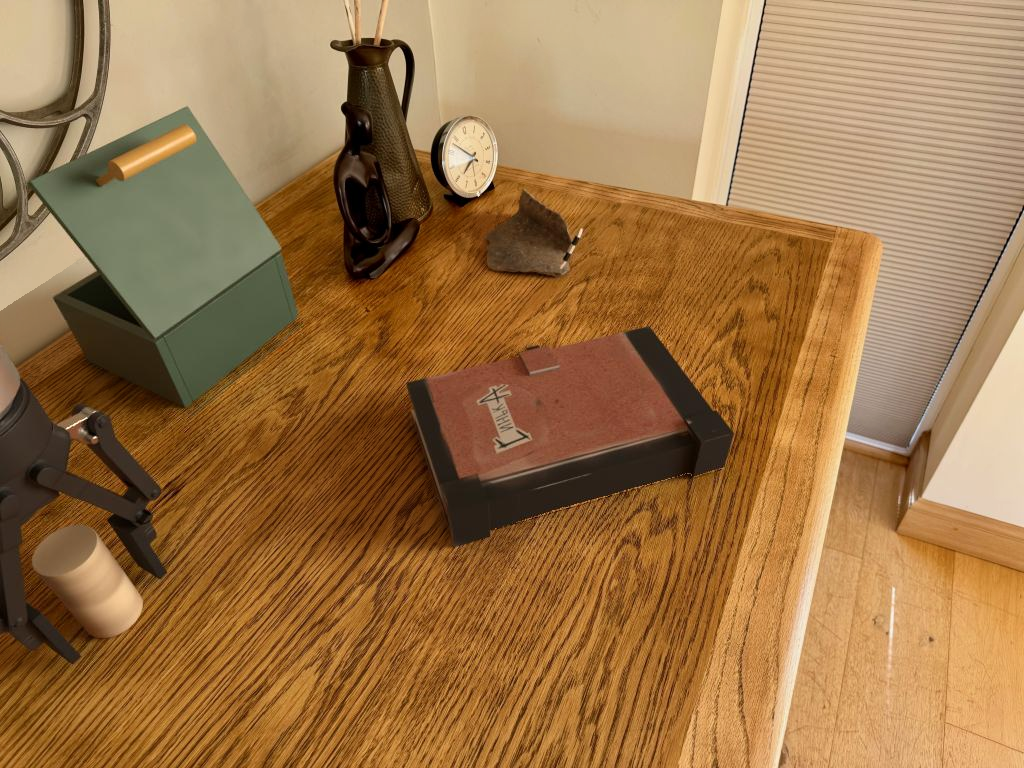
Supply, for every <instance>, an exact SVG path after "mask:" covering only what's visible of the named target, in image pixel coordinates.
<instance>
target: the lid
mask: <svg viewBox="0 0 1024 768" xmlns="http://www.w3.org/2000/svg"><path fill="white" fill-rule="evenodd" d="M27 185H28V186H29V188H30V189H31V190H32V192H34V194H35V196H37V198H38V199H39V200H40V201H41V203H42V204H43V205H44V206H45V208H46V209H47V211H49V213H50V214H51V215H52V217H53V218H54V219H55V220H56V222H57V223H58V224H59V225H60V227H61V228H62V230H64V232H65V233H66V234H67V236H68V237H69V238H70V239H71V241H72V242H73V243H74V244H75V245H76V247H77V248H78V249H79V250H80V251H81V253H82V254H83V255H84V257H85V258H86V260H87V261H88V262H89V263H90V265H92V267H93V268H94V269H95V271H97V272H98V273H99V274H100V275H101V277H102V278H103V279H104V280H105V282H106V283H107V284H108V285H109V287H110V288H111V289H112V290H113V292H114V293H115V294H116V295H117V297H118V298H119V299H120V300H121V302H122V303H123V304H124V305H125V307H126V308H127V309H128V310H129V312H130V313H131V314H132V315H133V317H134V318H135V319H136V320H137V322H138V323H139V324H140V325H141V327H142V328H143V329H144V330H145V332H146V333H147V334H148V335H149V337H150V338H151V339H156V338H157V337H158V336H160V335H161V334H163V333H164V332H165V331H167V330H168V329H170V328H171V327H173V326H174V325H175V324H177V323H178V322H180V321H181V320H182V319H184V318H185V317H187V316H188V315H189V314H191V313H192V312H194V311H195V310H197V309H198V308H199V307H201V306H202V305H204V304H205V303H206V302H208V301H209V300H211V299H212V298H213V297H215V296H216V295H218V294H219V293H220V292H222V291H223V290H225V289H226V288H228V287H229V286H230V285H232V284H233V283H235V282H236V281H237V280H239V279H240V278H242V277H243V276H244V275H246V274H247V273H249V272H250V271H252V270H253V269H254V268H256V267H257V266H259V265H260V264H261V263H263V262H264V261H266V260H267V259H268V258H270V257H271V256H273V255H274V254H275V253H277V252H280V251H281V250H282V249H283V248H282V246H281V245H280V243H279V242H278V240H277V238H276V237H275V235H274V234H273V232H272V231H271V229H270V228H269V226H268V225H267V223H266V222H265V221H264V219H263V217H262V216H261V215H260V213H259V211H258V210H257V208H256V207H255V205H254V204H253V202H252V201H251V198H249V196H248V194H247V193H246V191H244V189H243V187H242V186H241V185H240V183H239V181H238V180H237V178H236V177H235V175H234V173H233V172H232V171H231V169H230V167H229V166H228V164H227V163H226V162H225V160H224V159H223V157H222V155H221V154H220V152H219V151H218V149H217V148H216V147H215V145H214V144H213V141H211V139H210V137H209V135H208V134H207V133H206V132H205V130H204V128H203V127H202V126H201V124H200V123H199V121H198V119H197V118H196V116H195V115H194V114H193V112H192V111H191V109H190V107H189V106H185V107H182V108H180V109H178V110H176V111H174V112H172V113H170V114H168V115H166V116H163V117H161V118H159V119H157V120H155V121H152V122H150V123H148V124H146V125H145V126H142V127H140V128H137V129H135V130H134V131H132V132H130V133H128V134H126V135H123V136H122V137H119V138H117V139H115V140H113V141H110V142H109V143H106V144H104V145H102V146H100V147H98V148H96V149H94V150H91V151H89V152H88V153H86V154H83V155H81V156H79V157H77V158H74V159H72V160H71V161H69V162H66V163H64V164H62V165H60V166H58V167H56V168H54V169H52V170H49V171H46V172H45V173H43V174H41V175H39V176H37V177H35V178H33V179H31V180H29V181H28V182H27Z"/></svg>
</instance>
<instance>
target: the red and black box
mask: <svg viewBox="0 0 1024 768" xmlns="http://www.w3.org/2000/svg"><path fill="white" fill-rule="evenodd" d="M405 384H406V389H407V392H408V395H409V398H410V401H411V404H412V407H413V408H412V409H410V415H411V419H412V421H413V424H414V427H415V430H416V433H417V437H418V439H419V443H420V447H421V449H422V453H423V455H424V458H425V462H426V464H427V467H428V471H429V474H430V477H431V480H432V484H433V486H434V489H435V492H436V495H437V498H438V502H439V505H440V507H441V511H442V514H443V517H444V520H445V523H446V526H447V529H448V532H449V536H450V539H451V542H452V545H453V548H456V547H460V546H463V545H467V544H470V543H473V542H472V541H474V542H477V541H480V539H481V540H483V538H484V539H486V538H485V537H488V538H490V537H491V531H490V530H493V529H495V528H500V527H503V526H507V525H509V524H512V523H516V522H518V521H522V520H525V519H527V518H531V517H534V516H538V515H540V514H541V515H542V514H544V513H546V512H550V511H552V510H556V509H560V508H562V507H568V506H570V505H574V504H577V503H581V502H585V501H588V500H592V499H596V498H599V497H603V496H608V495H611V494H614V493H618V492H621V491H624V490H628V489H631V488H634V487H639V486H642V485H647V484H650V483H654V482H657V481H661V480H665V479H668V478H672V477H677V476H680V475H682V474H683V475H684V474H685V473H686V474H687V473H691V474H692V476H693V477H694V476H697V475H700V474H703V473H706V472H708V471H709V472H710V471H712V470H715V469H719V468H723V467H724V468H726V463H727V460H728V456H729V452H730V449H731V446H732V442H733V439H734V435H735V433H734V431H733V430H732V429H731V427H730V426H729V425H728V423H727V422H726V421H725V419H724V418H723V417H722V415H721V414H720V412H719V411H718V410H717V409H715V410H713V408H712V407H711V406H710V404H709V403H708V402H707V400H706V398H705V397H704V396H703V395H702V393H701V392H700V391H699V390H698V389H697V387H696V385H695V384H694V383H693V382H692V380H691V379H690V378H689V376H688V375H687V373H685V371H684V370H683V369H682V367H681V366H680V365H679V363H678V362H677V360H676V359H675V358H674V356H673V355H672V354H671V352H670V351H669V350H668V349H667V347H666V346H665V345H664V343H663V342H662V341H661V339H660V338H659V336H658V335H657V334H656V332H655V331H654V330H653V329H652V327H651V326H650V325H648V326H643V327H640V328H635V329H631V330H626V331H623V332H618V333H613V334H609V335H605V336H601V337H597V338H592V339H587V340H583V341H579V342H575V343H571V344H568V345H562V346H559V347H558V346H557V347H554V348H551V347H550V346H549V345H547V346H542V347H541V346H540V345H539V344H536V345H533V346H528V347H526V349H525V351H521V352H519V356H515V357H510V358H506V359H502V360H498V361H493V362H489V363H485V364H481V365H476V366H472V367H468V368H463V369H459V370H455V371H451V372H450V371H449V372H447V373H441V374H438V375H434V376H429V377H425V378H421V379H416V380H411V381H407V382H406V383H405ZM507 527H508V526H507ZM503 528H504V527H503ZM500 529H501V528H500ZM493 531H494V530H493ZM476 540H477V541H476ZM459 545H460V546H459Z"/></svg>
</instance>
